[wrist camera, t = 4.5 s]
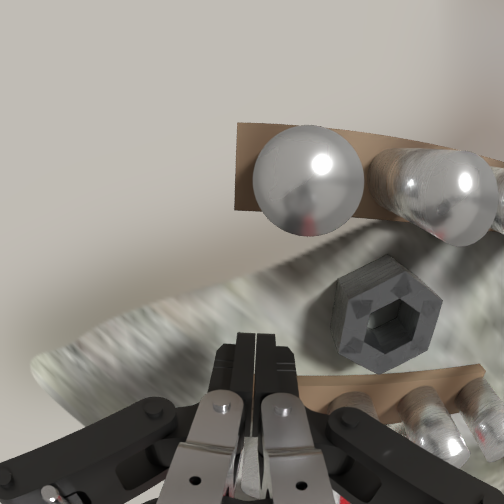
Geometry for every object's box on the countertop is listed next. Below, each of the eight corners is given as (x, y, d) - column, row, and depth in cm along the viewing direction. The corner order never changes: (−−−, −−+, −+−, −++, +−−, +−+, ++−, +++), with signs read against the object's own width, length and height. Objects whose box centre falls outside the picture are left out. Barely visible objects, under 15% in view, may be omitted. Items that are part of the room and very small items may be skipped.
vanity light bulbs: (536, 174, 14) (613, 193, 7) (469, 401, 19) (505, 459, 13) (239, 124, 14) (217, 102, 8) (232, 416, 20) (221, 500, 13)
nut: (428, 256, 16) (449, 272, 14) (405, 348, 18) (419, 371, 15) (341, 251, 16) (353, 268, 14) (326, 349, 18) (333, 376, 16)
